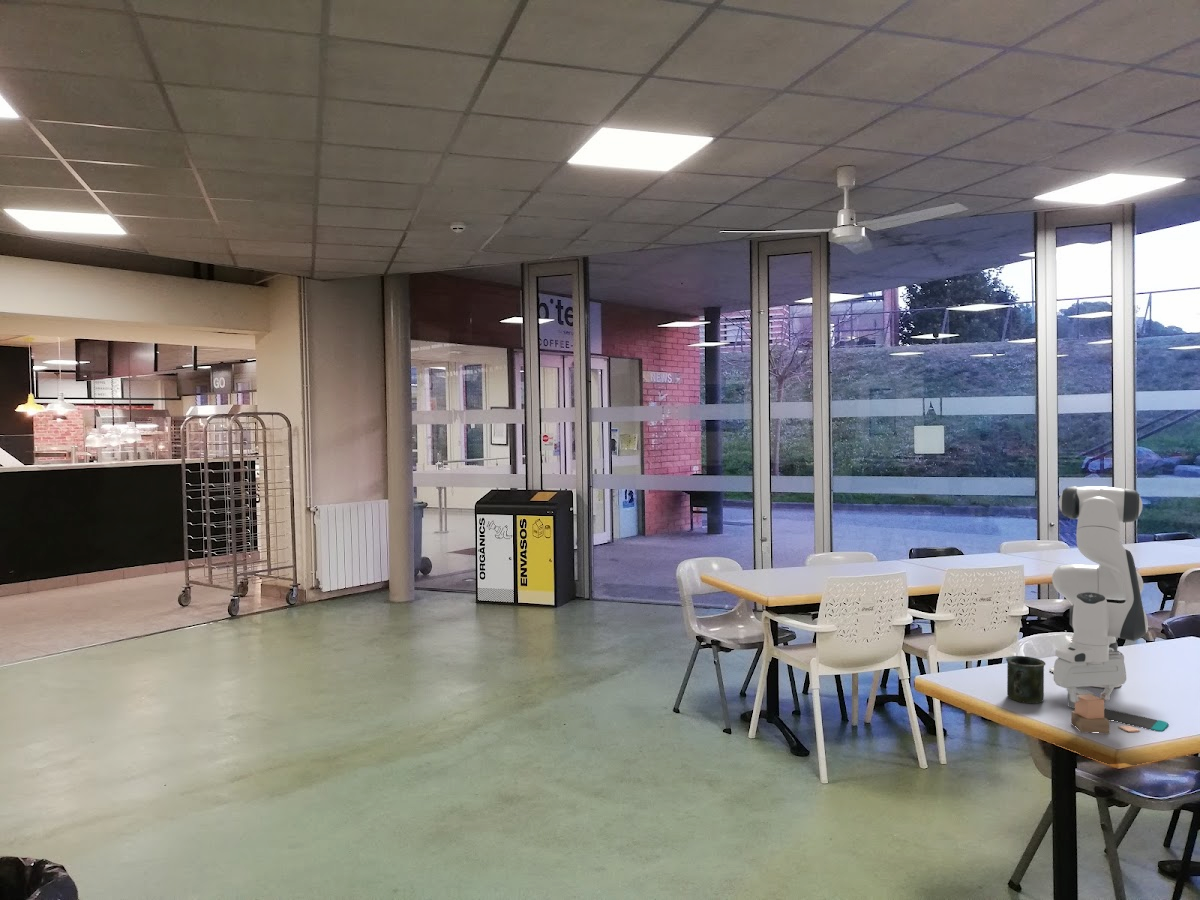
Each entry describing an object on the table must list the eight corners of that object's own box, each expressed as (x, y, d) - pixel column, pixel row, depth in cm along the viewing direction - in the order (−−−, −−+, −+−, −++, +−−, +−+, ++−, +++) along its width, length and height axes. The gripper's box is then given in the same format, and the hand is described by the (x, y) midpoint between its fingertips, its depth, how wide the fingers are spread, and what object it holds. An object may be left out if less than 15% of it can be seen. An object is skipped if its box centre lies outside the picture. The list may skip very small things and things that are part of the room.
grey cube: (1067, 705, 244) (1067, 689, 244) (1082, 704, 244) (1082, 688, 244) (1080, 711, 239) (1080, 694, 239) (1095, 710, 239) (1095, 693, 239)
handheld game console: (1162, 735, 222) (1171, 724, 228) (1162, 731, 222) (1171, 720, 228) (1083, 717, 236) (1094, 707, 243) (1083, 713, 236) (1094, 703, 242)
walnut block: (1071, 724, 228) (1071, 710, 228) (1098, 726, 227) (1098, 712, 227) (1081, 733, 221) (1081, 719, 221) (1109, 735, 220) (1109, 720, 220)
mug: (1049, 698, 250) (1049, 660, 250) (1036, 710, 240) (1036, 670, 240) (1012, 690, 258) (1012, 653, 258) (997, 701, 247) (997, 663, 247)
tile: (1118, 727, 225) (1118, 726, 225) (1129, 727, 225) (1129, 725, 225) (1128, 732, 221) (1128, 730, 221) (1139, 731, 222) (1139, 730, 222)
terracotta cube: (1074, 712, 227) (1074, 695, 227) (1090, 711, 227) (1091, 694, 227) (1087, 718, 222) (1087, 700, 222) (1104, 717, 222) (1104, 700, 222)
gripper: (1114, 647, 229) (1114, 695, 229) (1049, 650, 226) (1049, 699, 226) (1132, 653, 223) (1132, 702, 223) (1066, 656, 220) (1065, 706, 220)
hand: (1089, 700), depth 225 cm, fingers open, 8 cm apart
